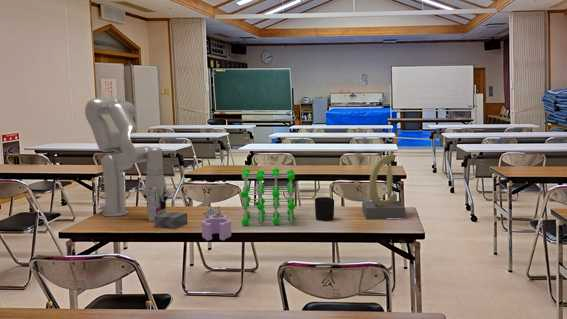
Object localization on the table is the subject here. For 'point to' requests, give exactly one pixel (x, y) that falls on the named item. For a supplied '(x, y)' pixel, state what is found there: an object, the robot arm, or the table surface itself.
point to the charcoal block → (170, 220)
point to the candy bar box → (153, 203)
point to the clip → (216, 227)
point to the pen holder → (324, 208)
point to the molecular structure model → (275, 199)
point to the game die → (213, 212)
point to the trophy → (377, 206)
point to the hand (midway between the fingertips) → (156, 208)
